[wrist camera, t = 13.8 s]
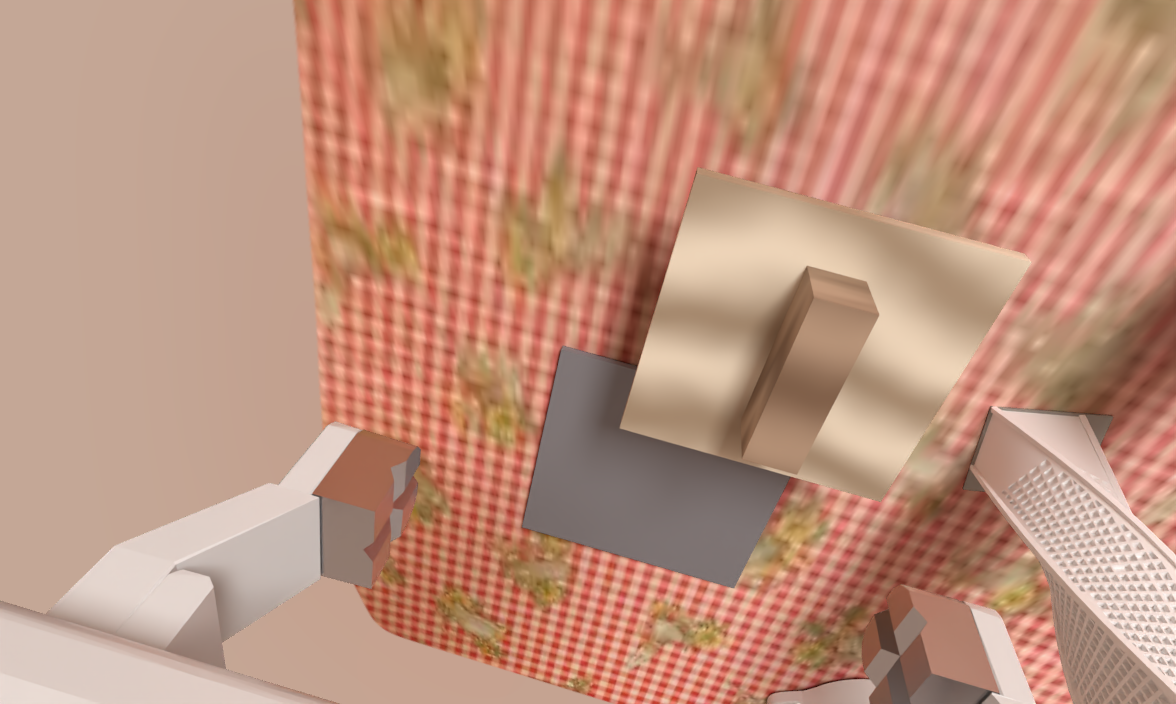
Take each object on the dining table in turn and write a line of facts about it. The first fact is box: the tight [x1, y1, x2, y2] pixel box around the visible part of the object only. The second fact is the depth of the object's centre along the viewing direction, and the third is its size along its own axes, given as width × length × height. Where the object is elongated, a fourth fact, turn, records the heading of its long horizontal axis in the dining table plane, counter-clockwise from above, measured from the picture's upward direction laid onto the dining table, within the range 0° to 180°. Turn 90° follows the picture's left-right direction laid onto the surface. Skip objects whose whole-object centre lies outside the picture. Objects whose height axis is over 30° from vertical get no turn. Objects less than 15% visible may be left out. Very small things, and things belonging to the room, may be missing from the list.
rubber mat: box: [522, 346, 791, 588], centre depth 51 cm, size 18×18×1 cm
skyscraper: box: [963, 406, 1176, 704], centre depth 33 cm, size 8×8×28 cm
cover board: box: [620, 167, 1032, 502], centre depth 35 cm, size 16×16×4 cm
